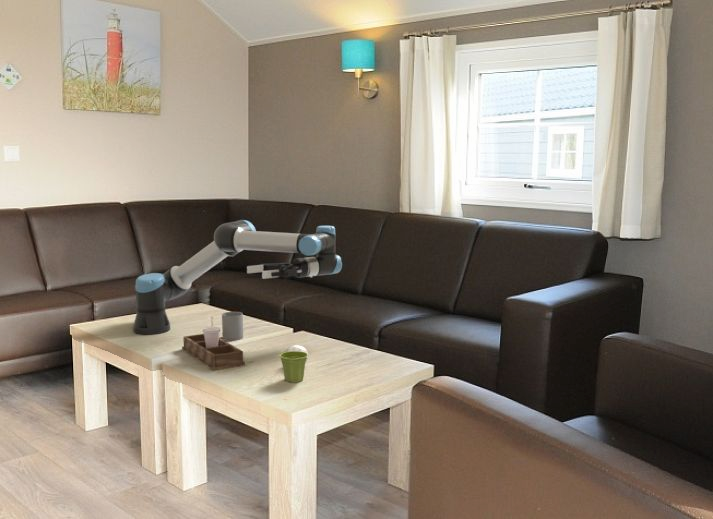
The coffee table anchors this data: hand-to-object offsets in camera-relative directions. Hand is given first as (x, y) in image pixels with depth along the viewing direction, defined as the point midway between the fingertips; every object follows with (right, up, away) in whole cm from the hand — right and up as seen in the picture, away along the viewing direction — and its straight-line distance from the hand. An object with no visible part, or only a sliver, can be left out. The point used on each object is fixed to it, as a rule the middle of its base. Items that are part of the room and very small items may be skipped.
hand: (254, 272), depth 274 cm
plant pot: (+17, -35, -31) cm, 50 cm away
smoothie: (-15, -30, -5) cm, 34 cm away
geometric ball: (+17, -33, -16) cm, 41 cm away
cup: (-12, -27, +22) cm, 37 cm away
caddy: (-15, -31, -5) cm, 35 cm away
